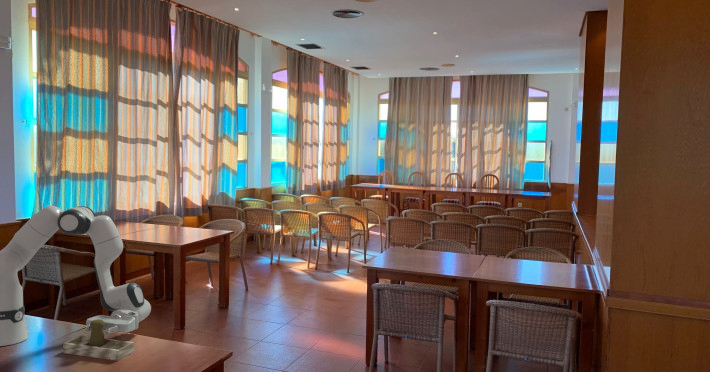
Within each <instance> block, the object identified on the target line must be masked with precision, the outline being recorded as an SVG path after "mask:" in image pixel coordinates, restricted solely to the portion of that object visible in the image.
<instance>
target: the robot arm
mask: <svg viewBox="0 0 710 372" xmlns="http://www.w3.org/2000/svg"><path fill="white" fill-rule="evenodd" d="M59 230H60V231H61V232H62V233H64V234H67V235H85V234H87V235H89V237H90V240H91V241H92V245H93V247H94V251H95V256H94V257H93V258H94V259H93V269H94V272H95V276H96V280H97V285H98V289H99V294H100V295H99V297H100V304H101V306H102V308H104V309H105V310H106V311H108V312H111V314H110V315H103V314H102V315H101V314H100V315H95V316H92V317H89V318H87V319H86V321H85V324H86V326H85V331H86V332H91V328H90V323H91V321H93V320H97V319H101V320H103V321H104V327H103V331H105V332H104V334H111V333H125V334H127V333H131V332H132V331H134V330H135V331H136V330H138V329H139V323H140V322H142V321H143V320H145V319H147V317H148V316H150V314H151V311H152V305H151V304H150V302H149V301H148V300H147V299H145V295H144V290H143V289H142V287H141V286H140V285H139V284H138V283H136V282H128V283H125V284H122V285H119V286H114V283H113V277H112V275H111V269H110V268H111V266H112V263H113V262H114V261H115V260H116V259H118V258H119V256H120V255H122V253H123V250H124V242H123V239H122V237H121V235H120V232H119V230H118V227H117V226H116V224H115V223H114V221H113V219H112V218H111V217H110V216H108V215H105V214H103V215H101V214H100V215H97V216H96V214H95V212H94V211H93V209H91V208H90V207H88V206H84V205H80V206H74V207H70V208H69V209H66V210H63V209H61V208H60V207H58V206H55V205H47V206H45V207H43V208H41V209H40V210H39V211H37V212H36V213H35V214H34V215H33V216H31V218H30V219H28V220H27V221H26V222H25V223H24V224H23V225H22V227H20V229H19V230H18V231H16V232H15V234H14V235H13V237H12V239H11V240H10V241H9V242H8V244H7V245H6V246H5V247H3V248H2V249H0V347H4V346H6V347H7V346H10V345H16V344H18V343H21V342H23V341H26V340H28V339H29V334H30V331H29V330H28V327H27V326H28V325H27V321H26V320H27V319H26V316H25V310H26V309H25V305H24V291H23V289H24V288H23V286H22V285H21V284H20V280H19V277H18V276H19V275H18V272H19V271H21V270H23V269H24V268H25V266H26V265H28V263H29V262H30V261H31V260H32V258H33V257H35V255H36V254H37V252H38V251H39V250H40V249H41V248H42V247H43V246H44V245H45V244H46V243H47V242H48V241H49V240H50V239H51V238H52V237H53V236H54V235H55V234H56V233H57V231H59Z"/></svg>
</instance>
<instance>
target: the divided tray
mask: <svg viewBox="0 0 710 372" xmlns="http://www.w3.org/2000/svg"><path fill="white" fill-rule="evenodd" d="M90 336H91V335H90ZM90 336H89V335H88V336H87V335H79V336H77V337H74V338H72V339H70V340H68V341H65V342H63V343H62V346H63V347H62V350H63V351H62V352H63V354H68V355H73V356H74V355H77V356H82V357H88V358H89V357H90V358H97V359H102V360H103V359H104V360H109V359H110V361H121V360H122V359H124V358H126V357H128V356H130V355H132V354H134V353H135V342H134V341H126V340H120V339H119V340H118V339H113V338H112V339H110V338H105V345H103V346H101V347H94V346H89V344H90ZM129 354H130V355H129Z"/></svg>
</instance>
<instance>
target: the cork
mask: <svg viewBox="0 0 710 372" xmlns="http://www.w3.org/2000/svg"><path fill="white" fill-rule="evenodd" d="M103 327H104V321H103V320H101V319H97V320H93V321H91V323H90V328H91V330H90V344H89V346H94V347H101V346H103V345H105V339H106V338H105V332H104V330H103Z"/></svg>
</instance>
